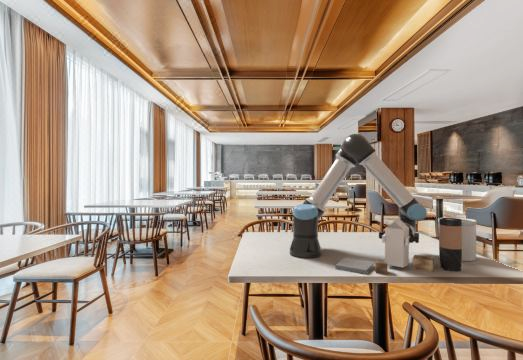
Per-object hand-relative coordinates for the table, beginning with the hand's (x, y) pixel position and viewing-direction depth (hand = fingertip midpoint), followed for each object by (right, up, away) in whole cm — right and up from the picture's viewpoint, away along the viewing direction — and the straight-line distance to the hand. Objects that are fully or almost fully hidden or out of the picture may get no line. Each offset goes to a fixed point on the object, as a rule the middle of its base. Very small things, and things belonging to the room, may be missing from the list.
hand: (394, 240), depth 113 cm
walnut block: (-6, -12, -2) cm, 14 cm away
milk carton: (+3, -11, +4) cm, 12 cm away
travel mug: (+23, -12, +2) cm, 26 cm away
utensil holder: (+37, -12, +19) cm, 43 cm away
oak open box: (+13, -12, +3) cm, 18 cm away
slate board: (-14, -12, +4) cm, 19 cm away
